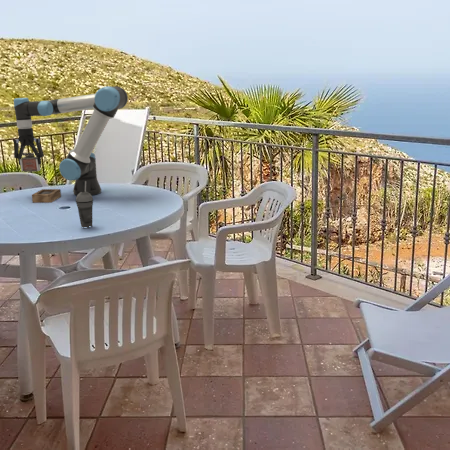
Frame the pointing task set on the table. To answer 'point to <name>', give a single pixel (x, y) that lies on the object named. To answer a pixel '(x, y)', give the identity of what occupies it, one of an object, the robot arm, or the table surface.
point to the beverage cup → (85, 207)
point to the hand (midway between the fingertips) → (31, 170)
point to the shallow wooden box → (46, 196)
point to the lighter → (29, 162)
